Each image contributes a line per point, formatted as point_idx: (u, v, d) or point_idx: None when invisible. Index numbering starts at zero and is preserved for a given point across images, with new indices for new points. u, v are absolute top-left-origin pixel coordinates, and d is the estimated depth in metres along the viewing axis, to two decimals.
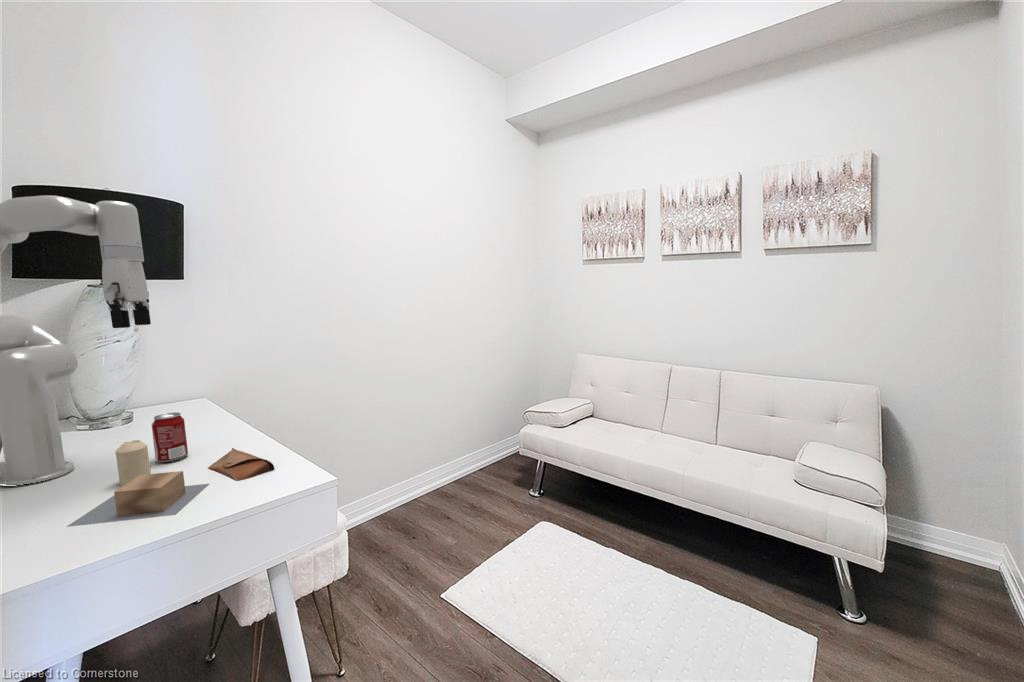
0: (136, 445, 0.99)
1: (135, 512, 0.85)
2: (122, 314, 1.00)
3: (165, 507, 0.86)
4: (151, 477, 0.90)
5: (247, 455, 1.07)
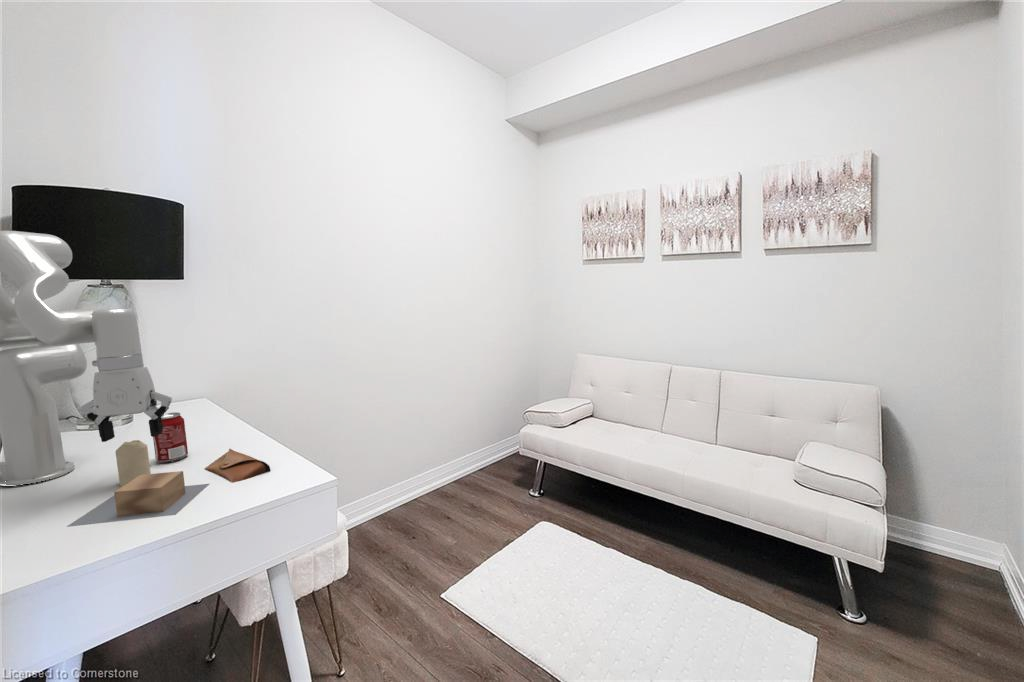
0: (136, 445, 0.99)
1: (135, 512, 0.85)
2: None
3: (165, 507, 0.86)
4: (151, 477, 0.90)
5: (243, 456, 1.06)
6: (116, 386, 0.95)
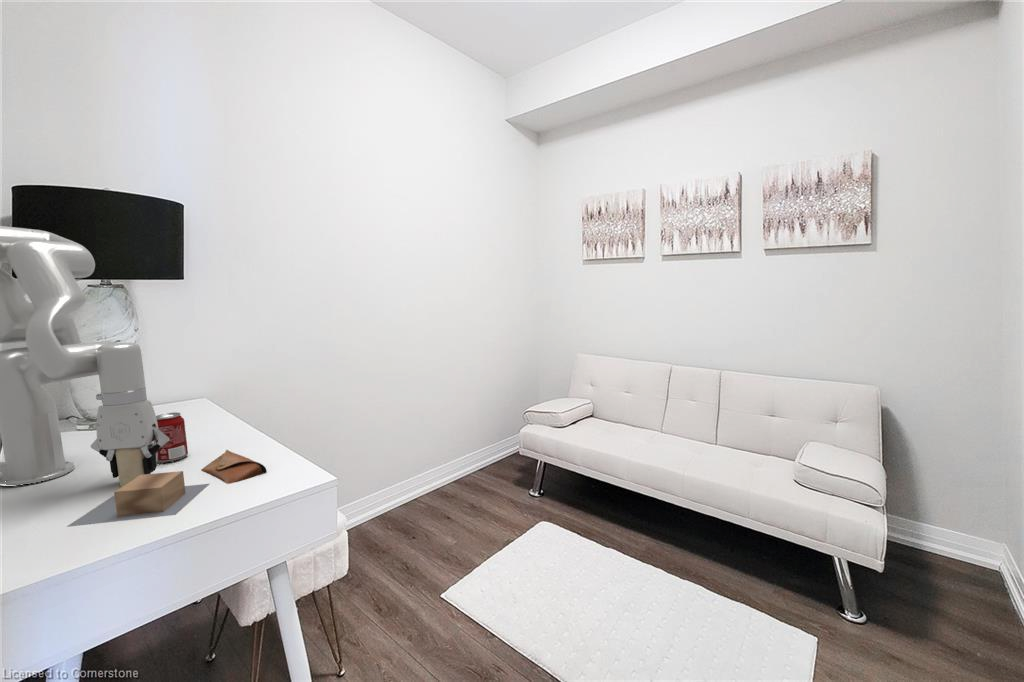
0: None
1: (135, 512, 0.85)
2: None
3: (165, 507, 0.86)
4: (151, 477, 0.90)
5: (240, 457, 1.05)
6: (119, 420, 0.96)
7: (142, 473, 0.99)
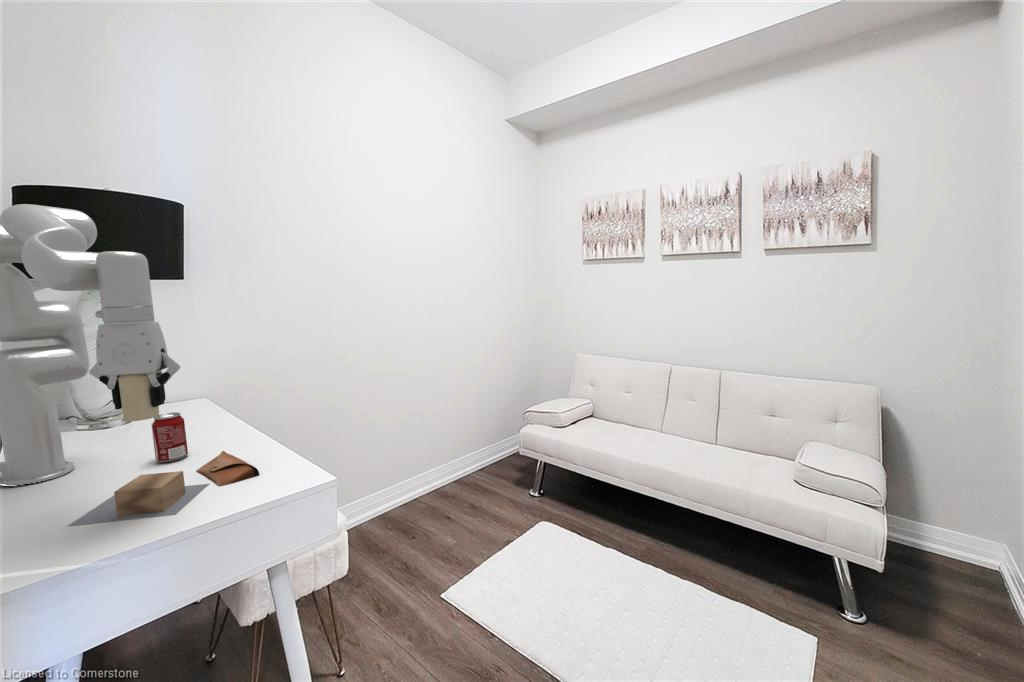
0: None
1: (135, 512, 0.85)
2: None
3: (165, 507, 0.86)
4: (151, 477, 0.90)
5: (234, 459, 1.04)
6: (123, 341, 0.82)
7: (149, 405, 0.86)
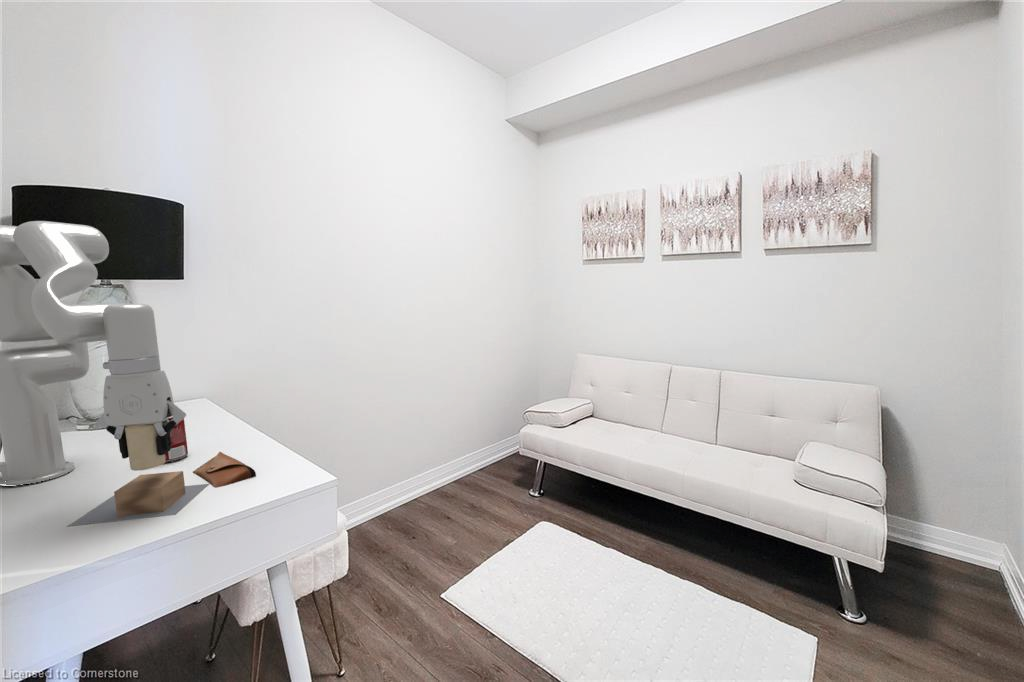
0: None
1: (135, 512, 0.85)
2: None
3: (165, 507, 0.86)
4: (151, 477, 0.90)
5: (230, 460, 1.04)
6: (130, 392, 0.83)
7: (155, 453, 0.87)
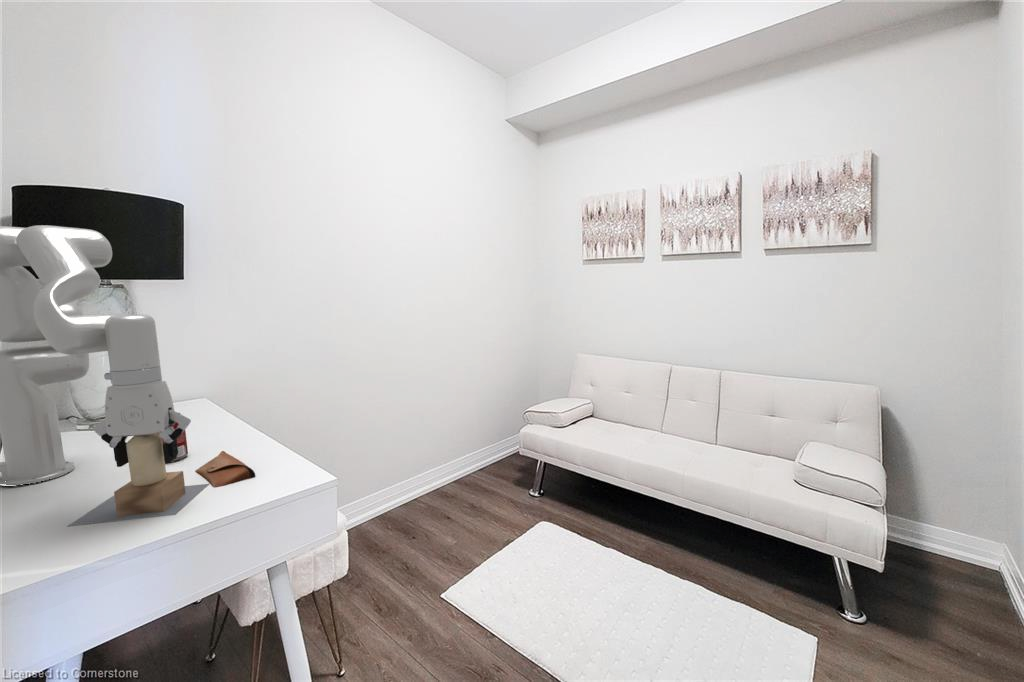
0: (149, 437, 0.87)
1: (135, 512, 0.85)
2: None
3: (165, 507, 0.86)
4: None
5: (231, 460, 1.04)
6: (131, 403, 0.84)
7: (157, 469, 0.87)
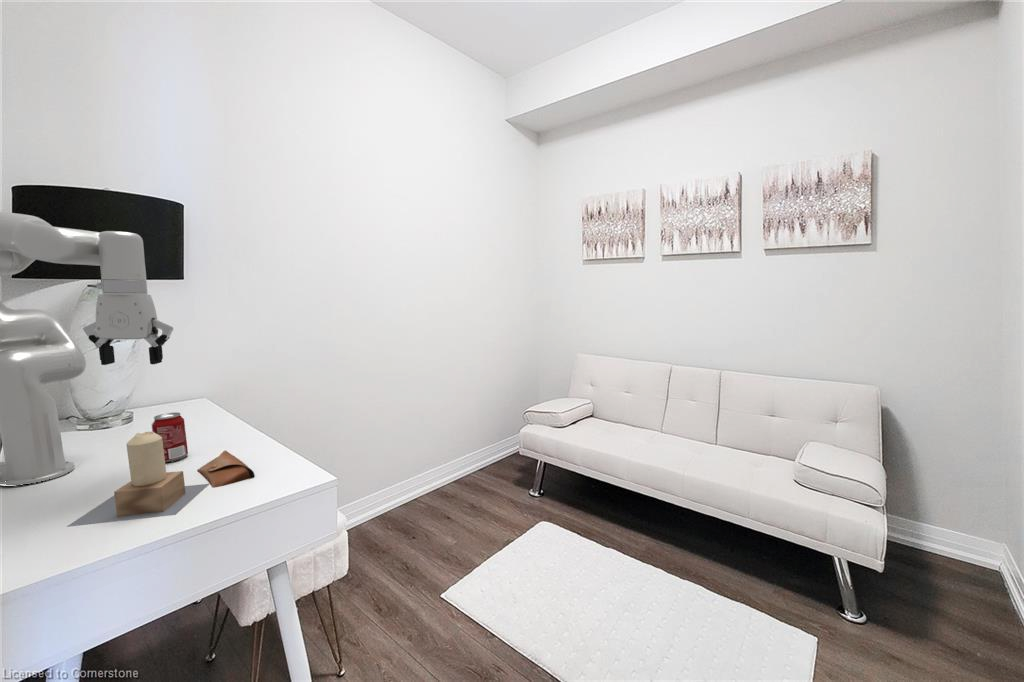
0: (150, 437, 0.87)
1: (135, 512, 0.85)
2: None
3: (165, 507, 0.86)
4: None
5: (232, 460, 1.04)
6: (118, 309, 0.95)
7: (157, 469, 0.87)
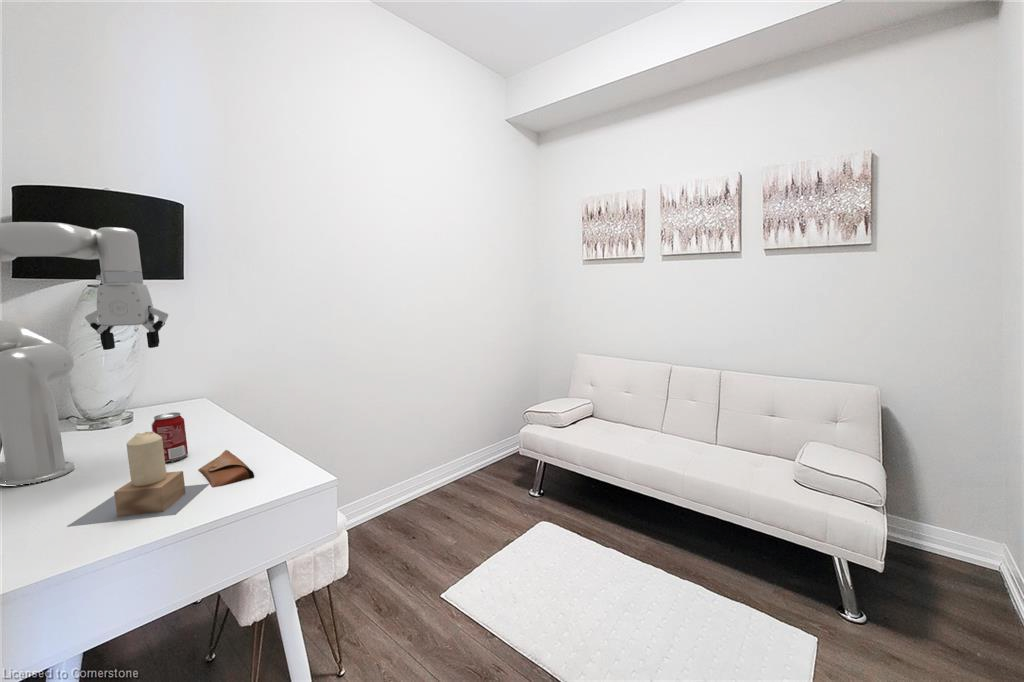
0: (150, 437, 0.87)
1: (135, 512, 0.85)
2: None
3: (165, 507, 0.86)
4: None
5: (232, 460, 1.04)
6: (118, 298, 1.04)
7: (157, 469, 0.87)
